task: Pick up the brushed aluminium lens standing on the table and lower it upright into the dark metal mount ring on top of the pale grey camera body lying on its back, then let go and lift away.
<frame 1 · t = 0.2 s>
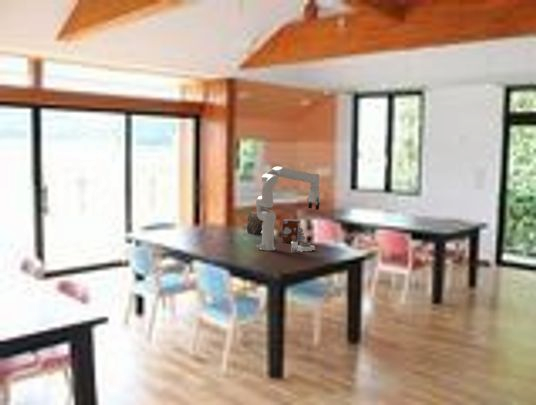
hand: (313, 209, 471), 31 cm above the table, tool pointing down, fingers open, 9 cm apart
camera body: (304, 250, 452), on the table
brown patterned box: (293, 242, 486), on the table
lens: (294, 252, 440), on the table
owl: (254, 233, 526), on the table
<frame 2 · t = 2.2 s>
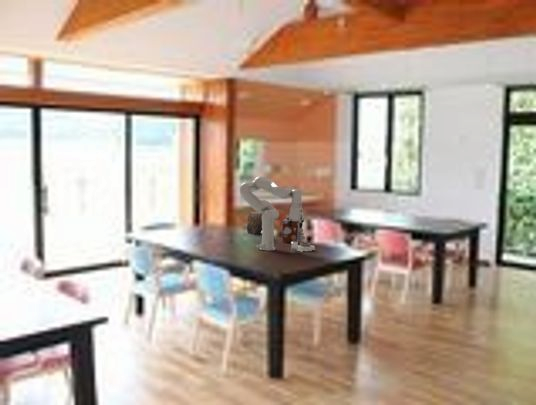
hand: (295, 227, 438), 20 cm above the table, tool pointing down, fingers open, 9 cm apart
nothing on the table moved.
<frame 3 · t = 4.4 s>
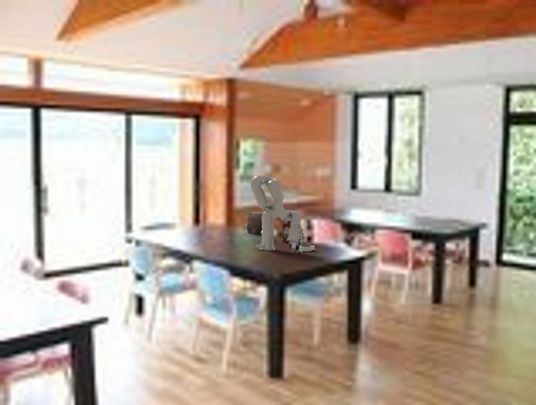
hand: (294, 249, 440), 2 cm above the table, tool pointing down, fingers closed on lens, 5 cm apart
lens: (294, 252, 440), on the table, touching gripper
everything else where it was.
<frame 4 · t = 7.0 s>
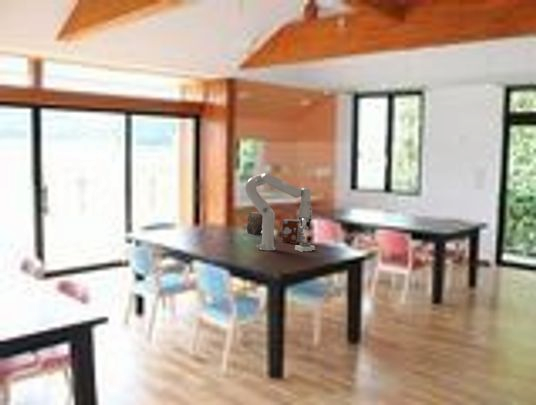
hand: (305, 226, 448), 20 cm above the table, tool pointing down, fingers closed on lens, 5 cm apart
lens: (304, 229, 448), point 17 cm above the table, touching gripper
everything else where it was.
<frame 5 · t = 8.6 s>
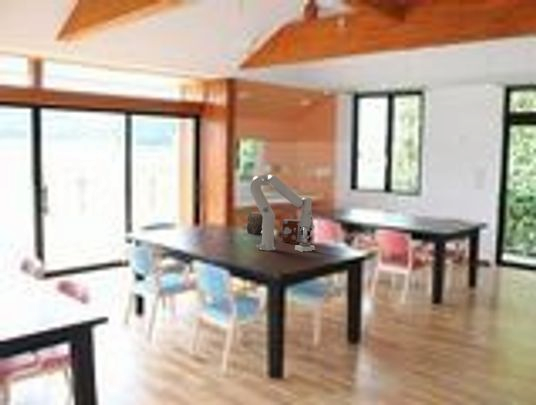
hand: (305, 235, 450), 12 cm above the table, tool pointing down, fingers closed on lens, 5 cm apart
lens: (305, 238, 451), point 10 cm above the table, touching gripper
everything else where it was.
when the fingers open (7 cm above the table, at t = 10.0 s): lens stays where it is, resting on camera body.
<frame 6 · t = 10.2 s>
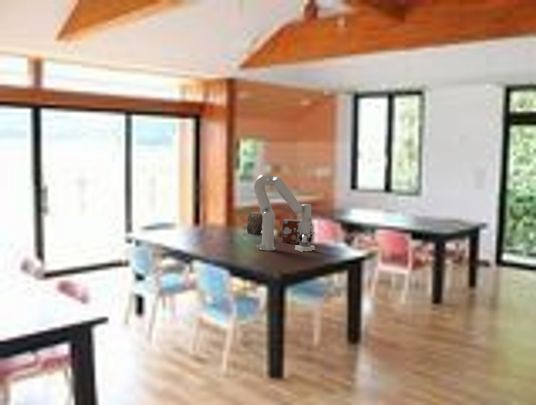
hand: (305, 241, 451), 7 cm above the table, tool pointing down, fingers open, 7 cm apart
lens: (304, 245, 451), point 4 cm above the table, touching camera body
everything else where it was.
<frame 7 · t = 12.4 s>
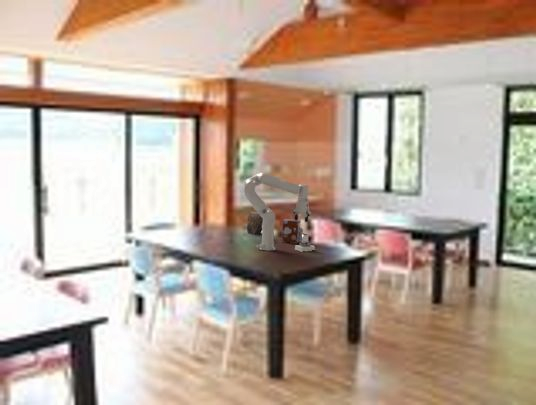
hand: (301, 221, 452), 23 cm above the table, tool pointing down, fingers open, 9 cm apart
nothing on the table moved.
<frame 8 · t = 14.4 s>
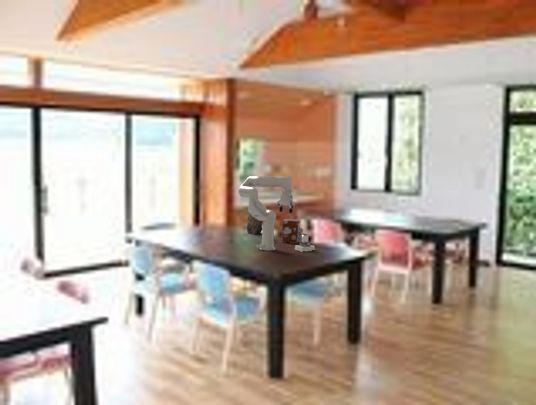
hand: (285, 212, 462), 28 cm above the table, tool pointing down, fingers open, 9 cm apart
nothing on the table moved.
at the end: lens 0.1 cm off-centre on the camera body, point 3.6 cm above the camera body's base; lens tilted 1°; the gripper is holding nothing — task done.
